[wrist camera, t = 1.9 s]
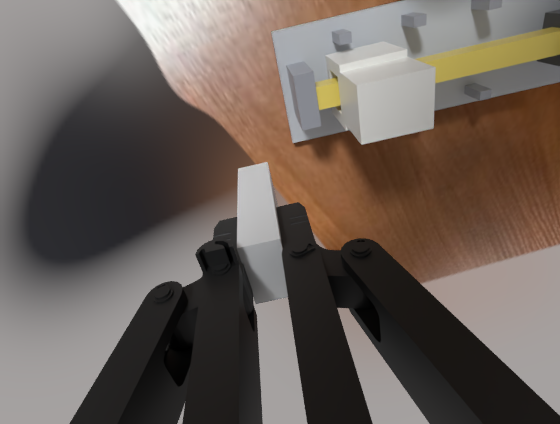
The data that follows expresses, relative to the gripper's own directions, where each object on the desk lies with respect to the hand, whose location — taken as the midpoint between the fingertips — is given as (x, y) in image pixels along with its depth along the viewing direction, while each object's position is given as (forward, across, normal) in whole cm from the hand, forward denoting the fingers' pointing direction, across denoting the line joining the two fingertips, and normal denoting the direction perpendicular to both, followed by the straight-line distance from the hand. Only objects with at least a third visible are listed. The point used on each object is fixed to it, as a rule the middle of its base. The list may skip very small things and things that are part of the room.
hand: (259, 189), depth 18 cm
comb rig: (+18, +18, 0) cm, 25 cm away
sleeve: (+16, +10, 0) cm, 18 cm away
